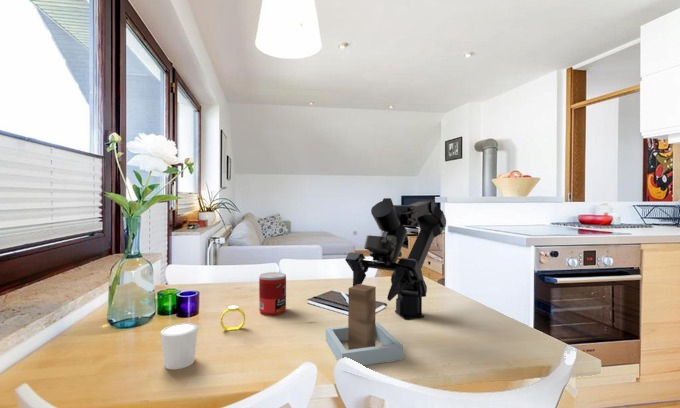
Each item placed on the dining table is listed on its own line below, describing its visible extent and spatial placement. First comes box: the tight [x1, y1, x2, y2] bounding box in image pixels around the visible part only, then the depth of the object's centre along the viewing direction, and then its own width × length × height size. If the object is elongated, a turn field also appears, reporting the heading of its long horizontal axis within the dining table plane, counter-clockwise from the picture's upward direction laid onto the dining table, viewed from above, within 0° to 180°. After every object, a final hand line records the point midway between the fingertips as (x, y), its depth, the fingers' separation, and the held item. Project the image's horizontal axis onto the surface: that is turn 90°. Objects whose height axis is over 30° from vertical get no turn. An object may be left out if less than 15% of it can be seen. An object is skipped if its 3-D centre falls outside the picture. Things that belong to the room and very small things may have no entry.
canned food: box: [258, 271, 287, 316], centre depth 98 cm, size 8×8×11 cm
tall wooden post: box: [347, 283, 377, 350], centre depth 73 cm, size 4×4×14 cm
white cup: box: [160, 322, 199, 370], centre depth 67 cm, size 7×7×7 cm
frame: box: [325, 322, 404, 366], centre depth 73 cm, size 13×13×3 cm
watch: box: [220, 304, 246, 332], centre depth 85 cm, size 6×3×6 cm, turn 107°
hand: (370, 296), depth 76 cm, fingers open, 9 cm apart
